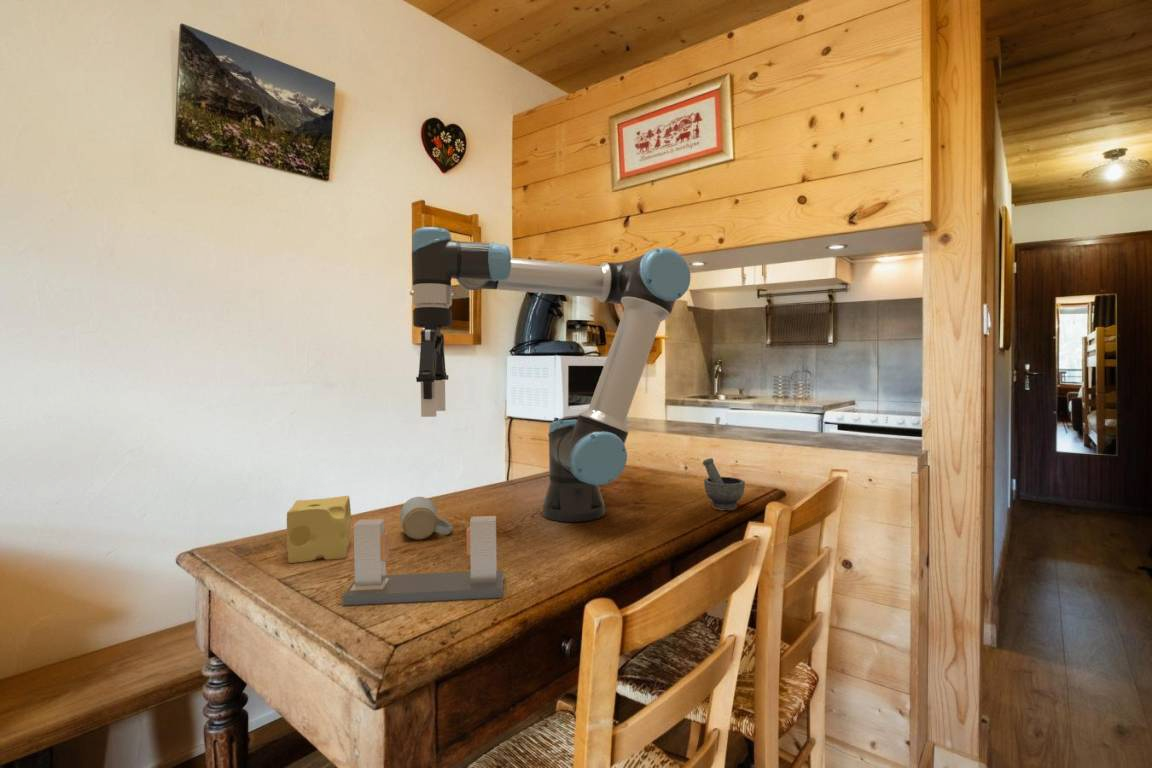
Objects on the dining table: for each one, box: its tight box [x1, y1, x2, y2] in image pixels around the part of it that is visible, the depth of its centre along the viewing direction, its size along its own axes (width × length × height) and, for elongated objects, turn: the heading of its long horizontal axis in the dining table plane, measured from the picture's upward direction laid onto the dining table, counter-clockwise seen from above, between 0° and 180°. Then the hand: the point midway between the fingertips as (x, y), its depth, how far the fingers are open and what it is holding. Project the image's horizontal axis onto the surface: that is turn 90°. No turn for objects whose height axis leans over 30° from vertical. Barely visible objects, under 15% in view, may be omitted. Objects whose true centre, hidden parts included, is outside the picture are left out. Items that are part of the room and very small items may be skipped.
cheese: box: [286, 495, 352, 564], centre depth 111 cm, size 10×11×10 cm
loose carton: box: [353, 518, 390, 588], centre depth 90 cm, size 5×3×10 cm, turn 95°
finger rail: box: [342, 515, 504, 607], centre depth 91 cm, size 24×8×12 cm, turn 96°
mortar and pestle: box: [702, 458, 746, 511], centre depth 144 cm, size 11×9×12 cm
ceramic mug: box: [400, 496, 453, 541], centre depth 122 cm, size 11×8×8 cm
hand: (434, 413), depth 114 cm, fingers open, 13 cm apart
